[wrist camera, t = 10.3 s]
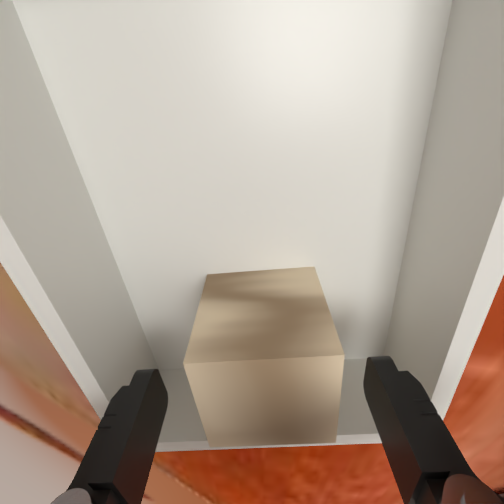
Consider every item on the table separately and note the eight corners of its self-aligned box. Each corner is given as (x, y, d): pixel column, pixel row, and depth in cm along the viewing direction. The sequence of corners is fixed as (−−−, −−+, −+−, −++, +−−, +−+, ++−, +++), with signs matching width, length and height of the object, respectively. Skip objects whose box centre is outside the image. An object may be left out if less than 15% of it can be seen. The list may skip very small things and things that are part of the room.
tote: (154, 365, 18) (121, 453, 13) (-24, -78, 8) (-341, -275, 4) (388, 352, 17) (434, 441, 13) (493, -162, 7) (837, -532, 3)
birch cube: (222, 348, 16) (209, 447, 11) (207, 274, 13) (182, 364, 9) (312, 343, 15) (336, 442, 11) (314, 266, 13) (344, 355, 8)
